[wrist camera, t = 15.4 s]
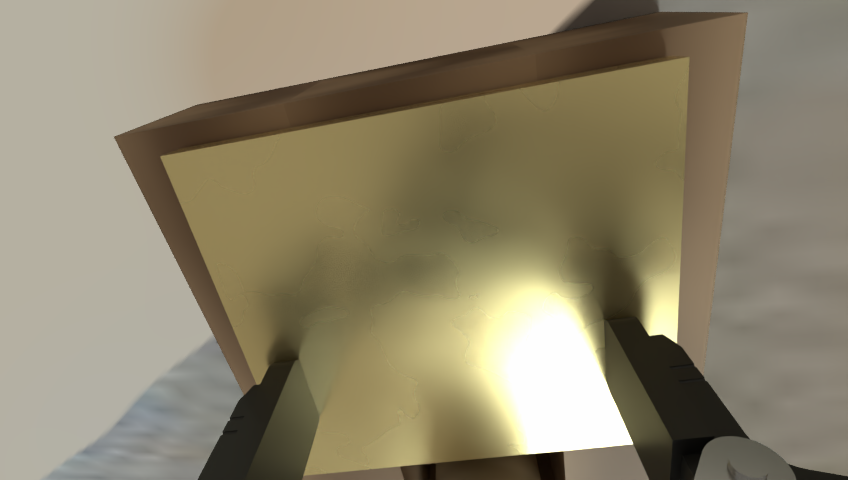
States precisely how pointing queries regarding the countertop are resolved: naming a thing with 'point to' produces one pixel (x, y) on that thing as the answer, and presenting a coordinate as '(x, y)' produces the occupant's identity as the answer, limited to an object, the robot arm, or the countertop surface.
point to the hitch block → (464, 74)
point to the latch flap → (452, 260)
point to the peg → (490, 469)
